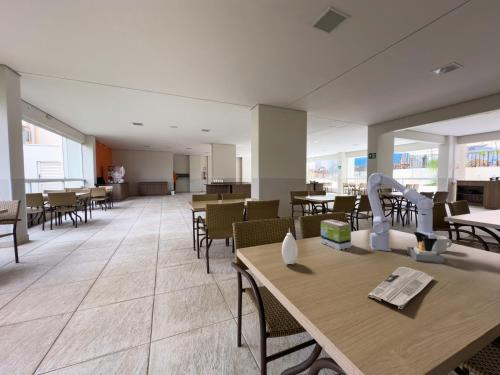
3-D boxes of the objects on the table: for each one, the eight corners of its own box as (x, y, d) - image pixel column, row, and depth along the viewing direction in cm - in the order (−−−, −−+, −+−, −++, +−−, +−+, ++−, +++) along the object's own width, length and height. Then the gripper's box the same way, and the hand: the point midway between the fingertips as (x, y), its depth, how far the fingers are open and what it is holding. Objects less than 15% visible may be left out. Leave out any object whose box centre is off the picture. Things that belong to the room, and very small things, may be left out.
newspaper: (398, 270, 95) (398, 262, 94) (434, 280, 85) (434, 271, 85) (365, 300, 73) (365, 290, 72) (408, 318, 63) (408, 307, 63)
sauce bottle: (298, 268, 98) (297, 230, 97) (281, 267, 100) (280, 230, 99) (297, 261, 106) (297, 226, 105) (282, 260, 107) (281, 226, 106)
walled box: (416, 261, 103) (416, 252, 102) (407, 253, 113) (407, 245, 113) (443, 263, 99) (444, 254, 99) (432, 255, 109) (432, 246, 109)
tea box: (320, 243, 133) (320, 220, 132) (331, 241, 137) (331, 218, 136) (339, 250, 119) (339, 225, 119) (351, 247, 124) (351, 223, 123)
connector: (421, 257, 105) (421, 242, 104) (418, 254, 108) (418, 240, 108) (430, 258, 104) (430, 242, 103) (426, 255, 107) (426, 240, 107)
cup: (445, 248, 118) (445, 234, 118) (457, 254, 110) (457, 239, 110) (424, 248, 119) (424, 234, 119) (435, 253, 111) (435, 239, 111)
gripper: (442, 225, 97) (442, 254, 98) (427, 219, 111) (427, 244, 111) (424, 225, 99) (423, 253, 100) (411, 219, 113) (411, 243, 114)
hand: (424, 248), depth 106 cm, fingers open, 7 cm apart
